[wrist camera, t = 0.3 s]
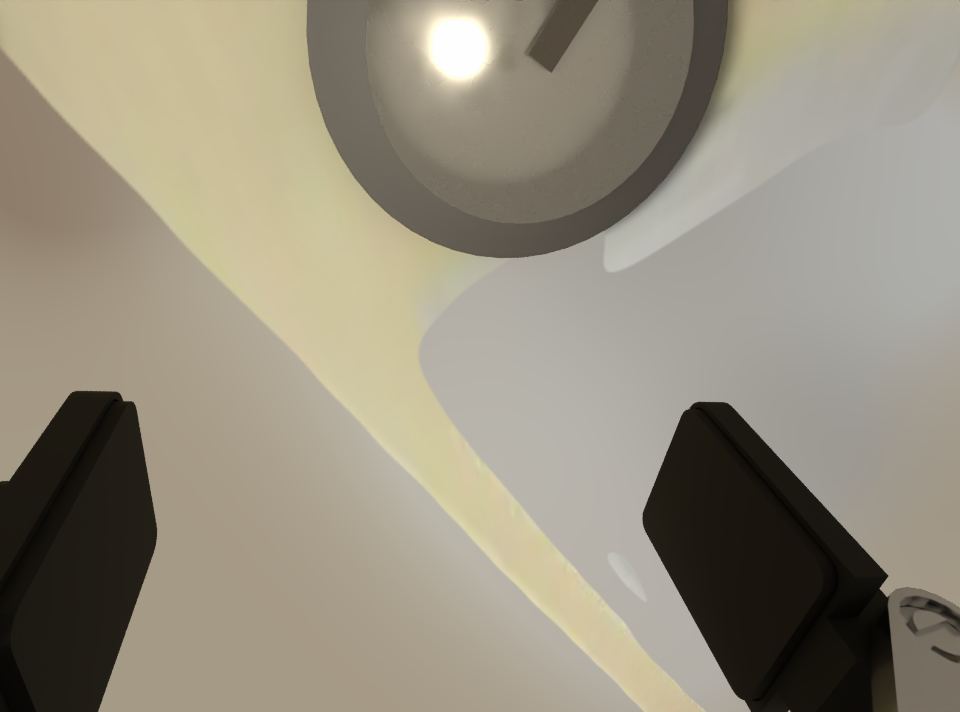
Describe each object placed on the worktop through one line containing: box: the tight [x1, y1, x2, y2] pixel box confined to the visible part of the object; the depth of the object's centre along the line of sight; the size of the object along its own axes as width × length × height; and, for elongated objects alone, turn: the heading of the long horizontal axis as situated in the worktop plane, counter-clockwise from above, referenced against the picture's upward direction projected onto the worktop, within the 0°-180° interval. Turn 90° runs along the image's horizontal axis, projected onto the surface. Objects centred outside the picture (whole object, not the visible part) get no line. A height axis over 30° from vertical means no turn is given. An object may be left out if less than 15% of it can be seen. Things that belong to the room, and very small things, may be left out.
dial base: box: [307, 0, 728, 258], centre depth 34 cm, size 24×24×2 cm
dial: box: [366, 0, 694, 224], centre depth 30 cm, size 18×18×6 cm
